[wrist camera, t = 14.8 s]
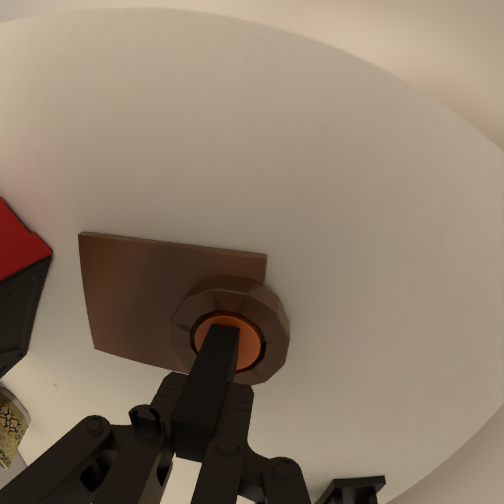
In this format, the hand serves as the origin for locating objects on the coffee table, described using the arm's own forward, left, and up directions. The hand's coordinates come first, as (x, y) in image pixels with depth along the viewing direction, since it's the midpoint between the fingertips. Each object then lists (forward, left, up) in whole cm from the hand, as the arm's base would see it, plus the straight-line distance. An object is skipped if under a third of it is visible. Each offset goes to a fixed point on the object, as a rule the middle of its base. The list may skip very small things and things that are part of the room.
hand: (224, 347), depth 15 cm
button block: (+4, 0, -3) cm, 5 cm away
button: (0, 0, -2) cm, 2 cm away
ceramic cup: (+31, +22, -3) cm, 38 cm away
